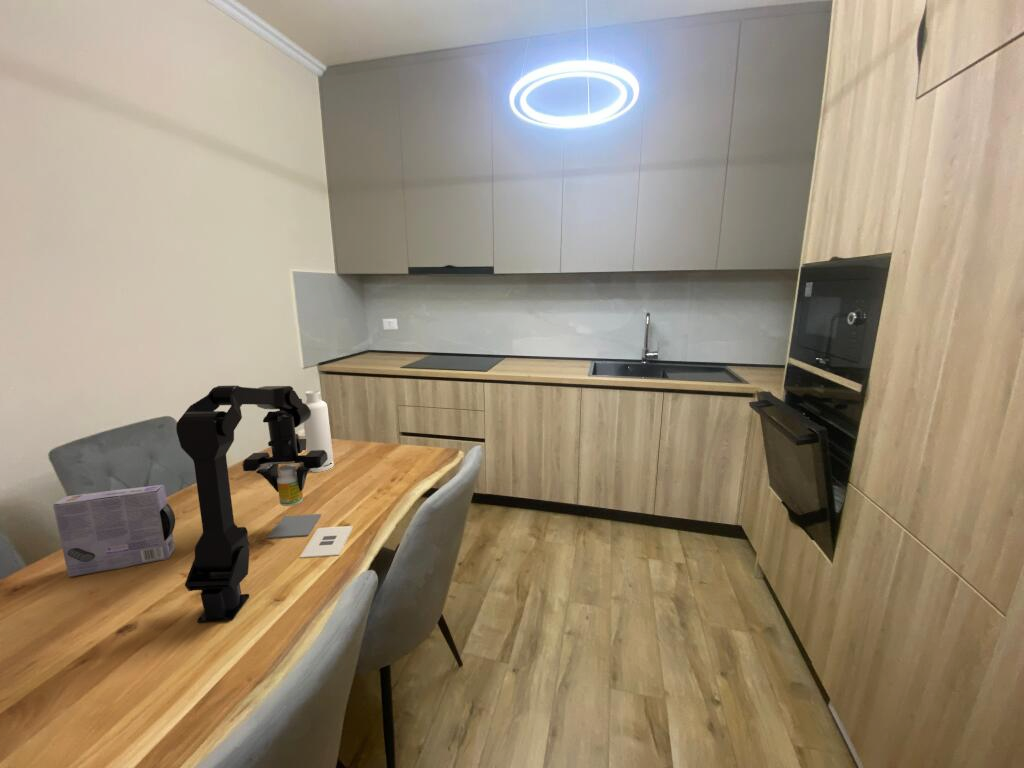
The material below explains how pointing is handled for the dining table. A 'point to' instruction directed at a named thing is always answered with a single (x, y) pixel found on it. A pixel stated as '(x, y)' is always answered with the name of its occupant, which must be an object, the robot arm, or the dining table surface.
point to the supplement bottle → (288, 486)
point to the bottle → (318, 428)
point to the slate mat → (294, 526)
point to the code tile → (327, 542)
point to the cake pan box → (115, 529)
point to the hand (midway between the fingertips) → (290, 490)
